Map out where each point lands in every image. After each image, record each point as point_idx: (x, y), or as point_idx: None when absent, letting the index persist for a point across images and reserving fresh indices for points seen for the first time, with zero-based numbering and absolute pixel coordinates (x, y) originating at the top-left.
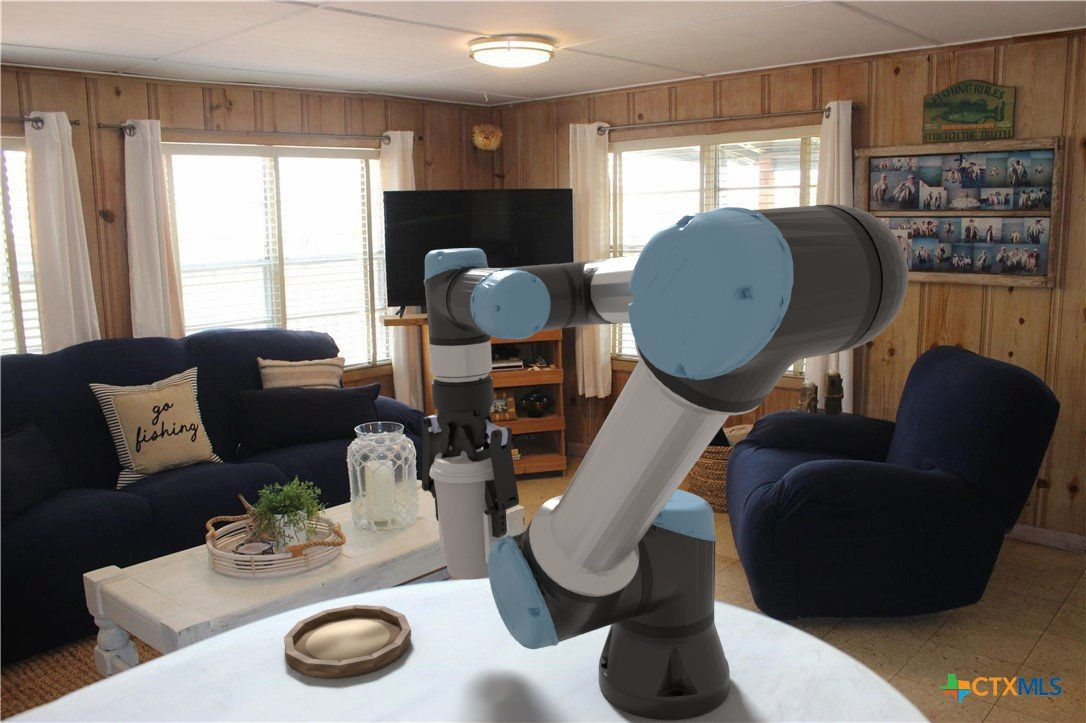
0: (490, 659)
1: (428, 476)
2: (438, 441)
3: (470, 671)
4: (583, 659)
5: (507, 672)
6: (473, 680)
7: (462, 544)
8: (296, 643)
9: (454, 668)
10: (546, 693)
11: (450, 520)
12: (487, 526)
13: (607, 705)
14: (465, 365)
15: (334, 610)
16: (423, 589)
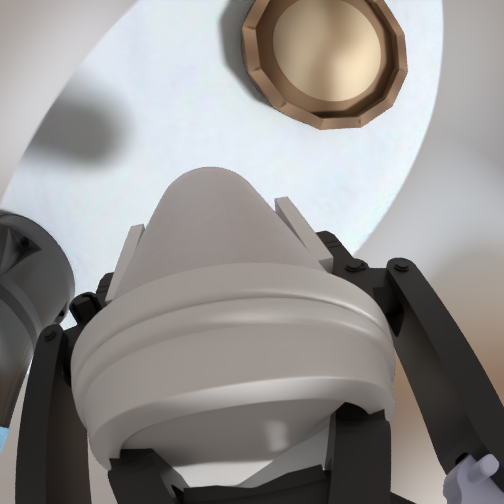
0: (154, 160)
1: (405, 296)
2: (441, 430)
3: (146, 124)
4: (89, 245)
5: (114, 160)
6: (126, 116)
7: (166, 202)
8: (369, 7)
9: (167, 111)
10: (53, 172)
11: (187, 209)
12: (115, 275)
13: (12, 209)
14: None
15: (398, 79)
16: (373, 207)
